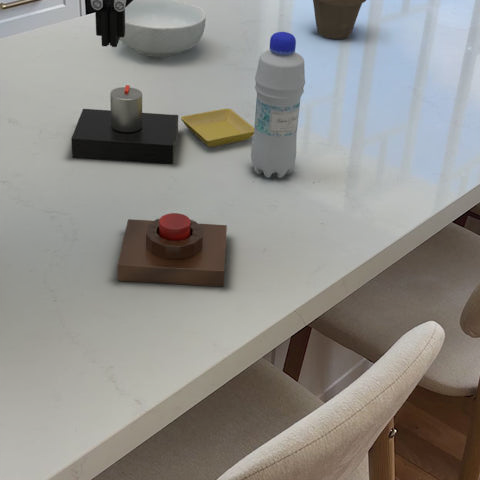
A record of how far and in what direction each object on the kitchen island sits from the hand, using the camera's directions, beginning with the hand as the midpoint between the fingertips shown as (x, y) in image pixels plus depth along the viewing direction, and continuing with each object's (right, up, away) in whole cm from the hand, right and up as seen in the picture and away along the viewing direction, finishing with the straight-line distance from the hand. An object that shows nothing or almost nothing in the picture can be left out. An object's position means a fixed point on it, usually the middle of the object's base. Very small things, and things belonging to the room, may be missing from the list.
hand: (110, 42), depth 98 cm
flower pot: (+30, +22, +77) cm, 85 cm away
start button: (+7, -21, +5) cm, 23 cm away
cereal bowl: (-3, +15, +63) cm, 64 cm away
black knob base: (-3, -7, +30) cm, 31 cm away
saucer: (+10, -5, +35) cm, 37 cm away
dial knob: (-3, -5, +29) cm, 29 cm away
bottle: (+18, -11, +28) cm, 35 cm away
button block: (+6, -24, +7) cm, 26 cm away
